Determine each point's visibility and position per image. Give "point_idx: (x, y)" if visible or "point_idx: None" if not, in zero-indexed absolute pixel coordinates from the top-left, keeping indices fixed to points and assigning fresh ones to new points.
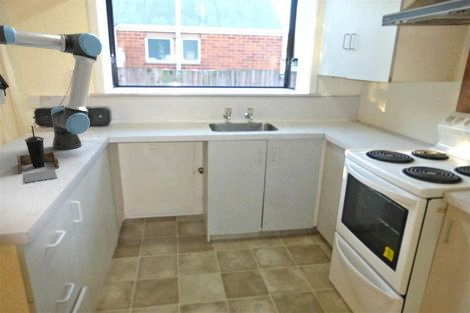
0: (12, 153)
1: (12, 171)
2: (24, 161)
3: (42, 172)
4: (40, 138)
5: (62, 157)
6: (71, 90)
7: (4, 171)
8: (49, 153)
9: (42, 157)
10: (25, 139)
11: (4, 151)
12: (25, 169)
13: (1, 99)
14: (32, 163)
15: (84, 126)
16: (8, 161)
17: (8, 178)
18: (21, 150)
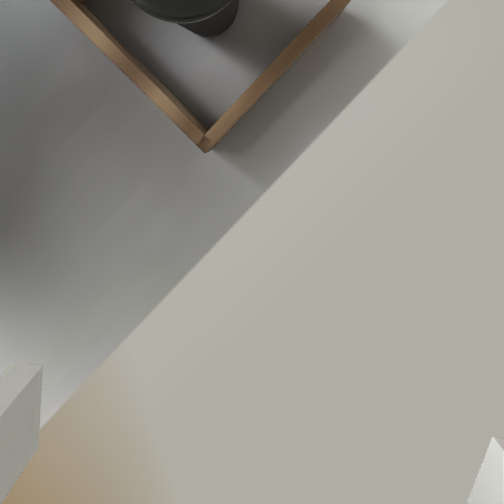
0: (66, 348)
1: (315, 85)
2: (195, 120)
3: None
4: None
5: (8, 3)
6: None
7: (325, 128)
8: (78, 7)
9: None
10: (216, 6)
11: (55, 412)
12: (269, 42)
13: (3, 468)
14: (237, 7)
15: None
16: (183, 251)
17: (417, 5)
18: (4, 350)
